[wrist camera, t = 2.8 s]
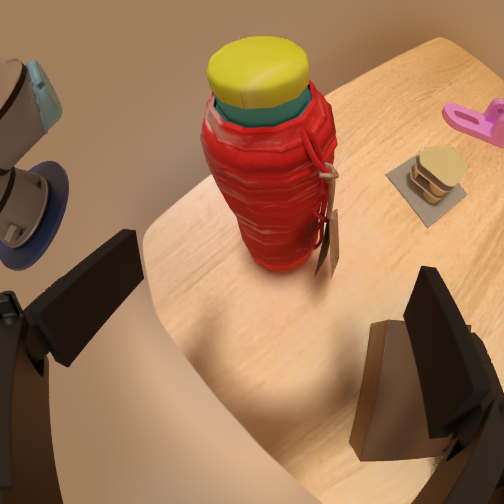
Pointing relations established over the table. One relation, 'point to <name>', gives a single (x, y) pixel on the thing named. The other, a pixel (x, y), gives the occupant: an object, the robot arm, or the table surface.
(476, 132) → the bracket
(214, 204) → the table surface
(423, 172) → the stacked layers on plate
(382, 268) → the table surface
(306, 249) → the water bottle
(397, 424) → the walnut stand
